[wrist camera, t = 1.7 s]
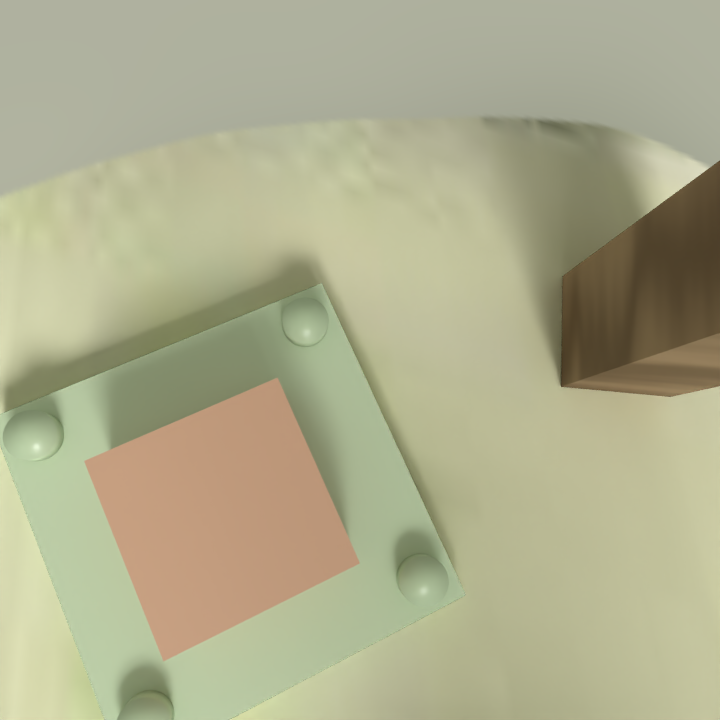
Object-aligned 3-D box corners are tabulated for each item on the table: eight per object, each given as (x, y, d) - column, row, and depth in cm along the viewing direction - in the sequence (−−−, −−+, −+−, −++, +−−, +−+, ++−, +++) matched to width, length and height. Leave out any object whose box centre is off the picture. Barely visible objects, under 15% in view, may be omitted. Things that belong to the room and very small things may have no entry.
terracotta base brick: (349, 551, 22) (360, 563, 19) (180, 635, 20) (163, 661, 18) (278, 390, 22) (277, 377, 19) (111, 463, 21) (83, 461, 18)
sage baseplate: (456, 589, 23) (472, 599, 21) (134, 758, 21) (118, 786, 19) (319, 292, 24) (322, 276, 22) (5, 421, 22) (-22, 416, 20)
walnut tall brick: (670, 396, 25) (977, 329, 14) (561, 386, 25) (788, 309, 14) (668, 287, 26) (956, 143, 15) (562, 276, 26) (777, 117, 14)
